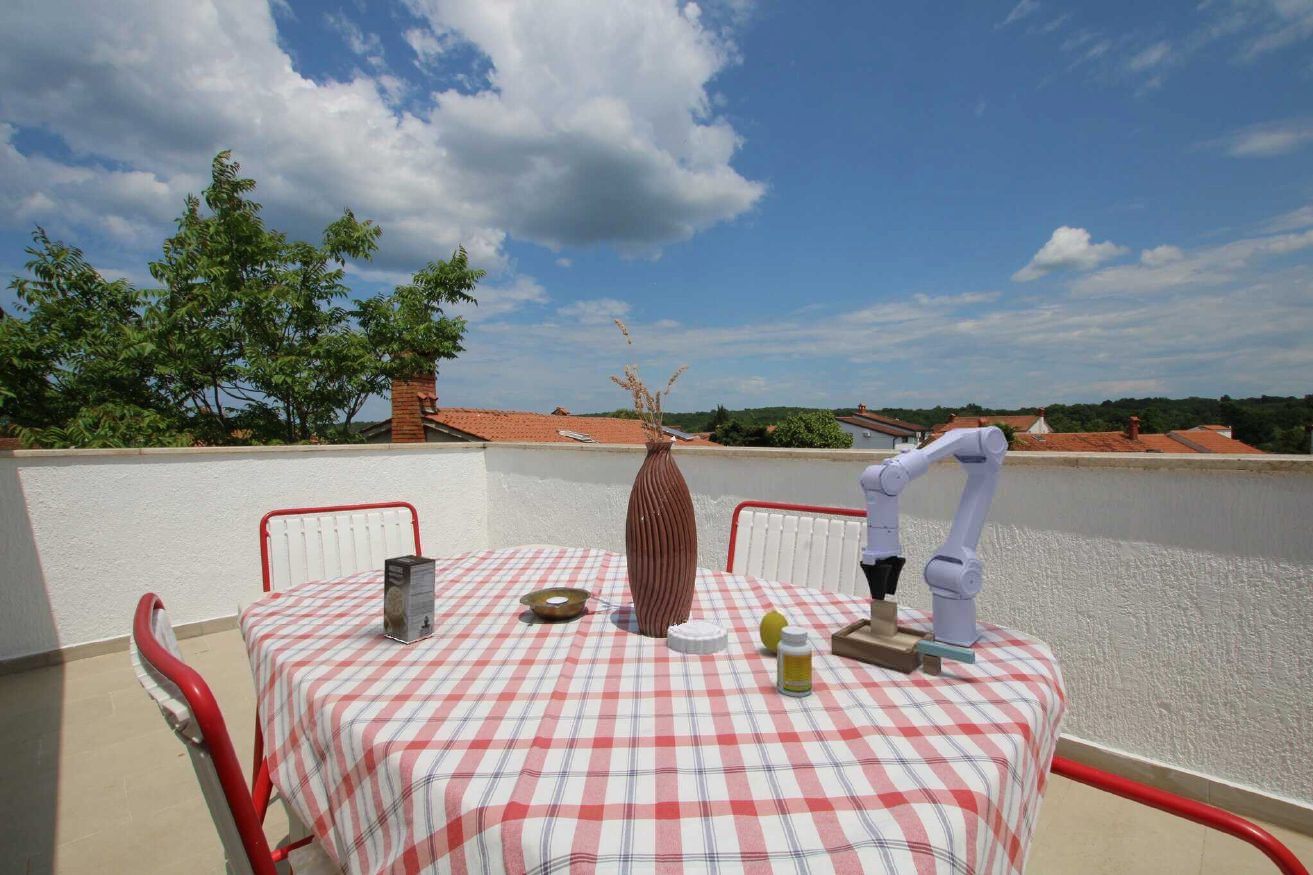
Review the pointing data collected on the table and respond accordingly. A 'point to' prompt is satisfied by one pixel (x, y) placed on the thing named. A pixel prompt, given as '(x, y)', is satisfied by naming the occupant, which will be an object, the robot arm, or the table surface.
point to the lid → (885, 627)
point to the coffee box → (409, 597)
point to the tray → (885, 651)
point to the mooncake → (697, 637)
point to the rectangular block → (946, 651)
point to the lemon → (772, 630)
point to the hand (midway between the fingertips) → (883, 596)
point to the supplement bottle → (794, 662)
